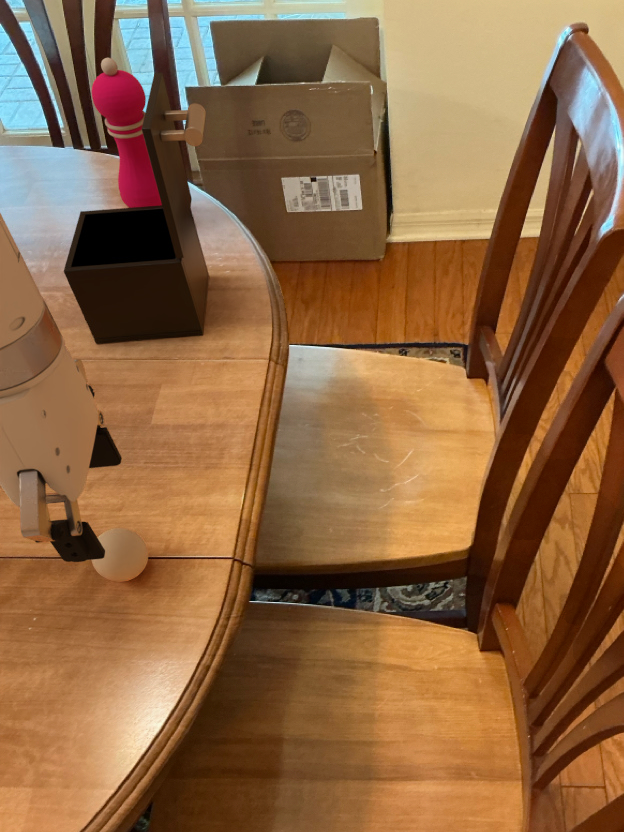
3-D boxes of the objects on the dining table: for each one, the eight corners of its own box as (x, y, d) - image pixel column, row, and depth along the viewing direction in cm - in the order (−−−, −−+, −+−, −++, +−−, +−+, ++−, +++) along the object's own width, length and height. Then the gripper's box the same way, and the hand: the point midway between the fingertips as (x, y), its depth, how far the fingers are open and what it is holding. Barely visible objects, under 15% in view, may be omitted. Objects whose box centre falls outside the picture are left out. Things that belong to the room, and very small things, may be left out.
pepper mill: (193, 223, 103) (148, 60, 86) (143, 242, 100) (87, 79, 84) (171, 199, 106) (124, 39, 90) (122, 217, 104) (65, 56, 88)
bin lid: (141, 128, 70) (194, 126, 70) (154, 72, 77) (202, 70, 77) (176, 258, 81) (222, 256, 81) (184, 199, 88) (227, 197, 88)
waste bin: (95, 344, 89) (63, 271, 81) (109, 283, 95) (80, 211, 88) (203, 335, 89) (181, 262, 81) (209, 275, 96) (189, 202, 88)
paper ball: (98, 594, 69) (78, 564, 65) (105, 550, 71) (87, 519, 68) (152, 589, 69) (135, 559, 65) (157, 545, 72) (141, 514, 68)
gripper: (-30, 266, 54) (67, 436, 68) (-105, 446, 44) (27, 603, 57) (77, 256, 54) (152, 428, 68) (28, 434, 44) (128, 593, 58)
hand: (95, 508), depth 63 cm, fingers open, 9 cm apart
